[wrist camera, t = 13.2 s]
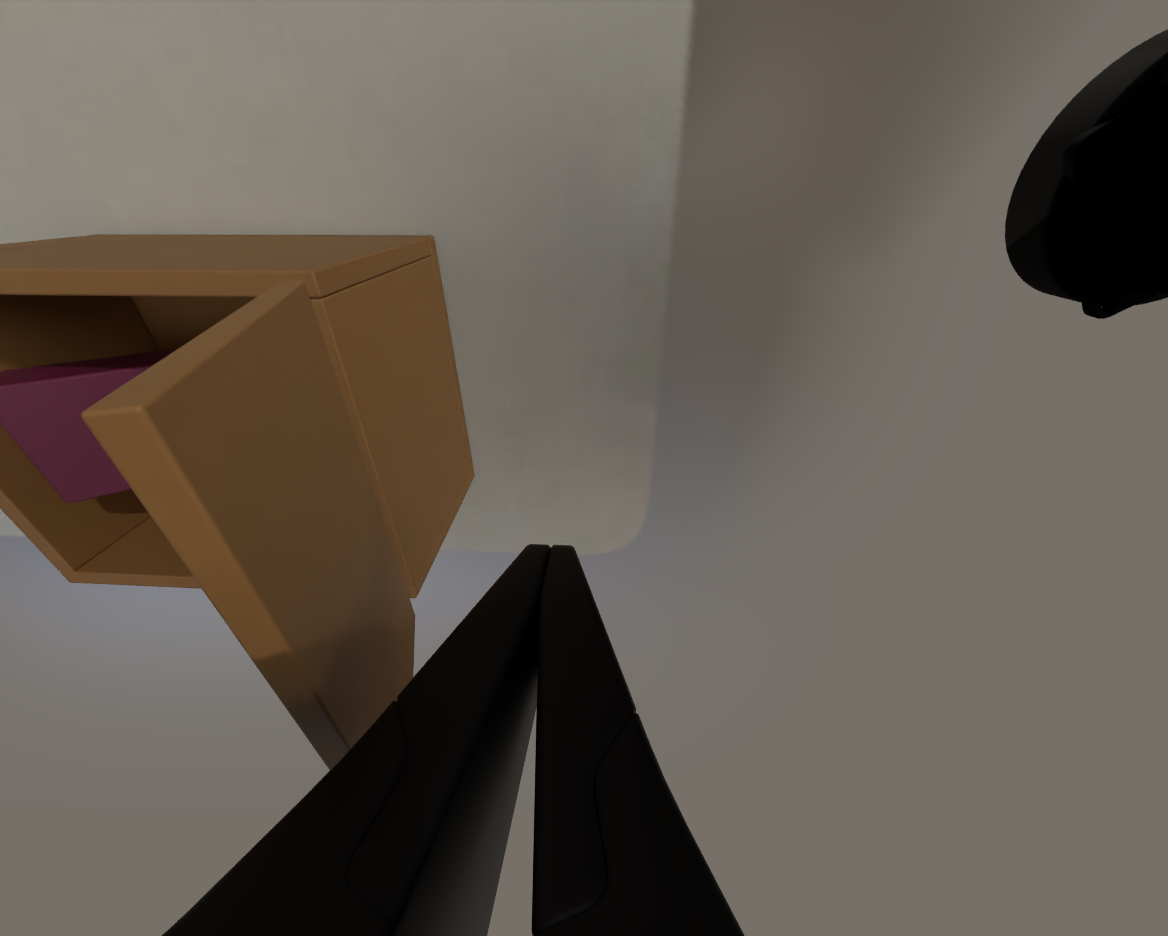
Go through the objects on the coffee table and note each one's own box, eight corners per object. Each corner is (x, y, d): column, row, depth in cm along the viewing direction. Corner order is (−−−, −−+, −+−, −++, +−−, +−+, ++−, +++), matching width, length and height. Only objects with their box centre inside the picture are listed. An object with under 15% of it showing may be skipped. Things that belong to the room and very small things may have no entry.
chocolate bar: (0, 370, 11) (-30, 389, 10) (336, 328, 15) (339, 339, 14) (84, 479, 13) (65, 505, 12) (364, 420, 17) (369, 437, 16)
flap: (278, 280, 7) (305, 279, 8) (400, 618, 12) (415, 615, 12) (74, 413, 3) (139, 407, 3) (386, 851, 8) (408, 843, 8)
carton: (434, 235, 13) (312, 270, 8) (475, 476, 18) (416, 599, 13) (98, 234, 14) (-229, 266, 9) (225, 468, 19) (69, 583, 13)
